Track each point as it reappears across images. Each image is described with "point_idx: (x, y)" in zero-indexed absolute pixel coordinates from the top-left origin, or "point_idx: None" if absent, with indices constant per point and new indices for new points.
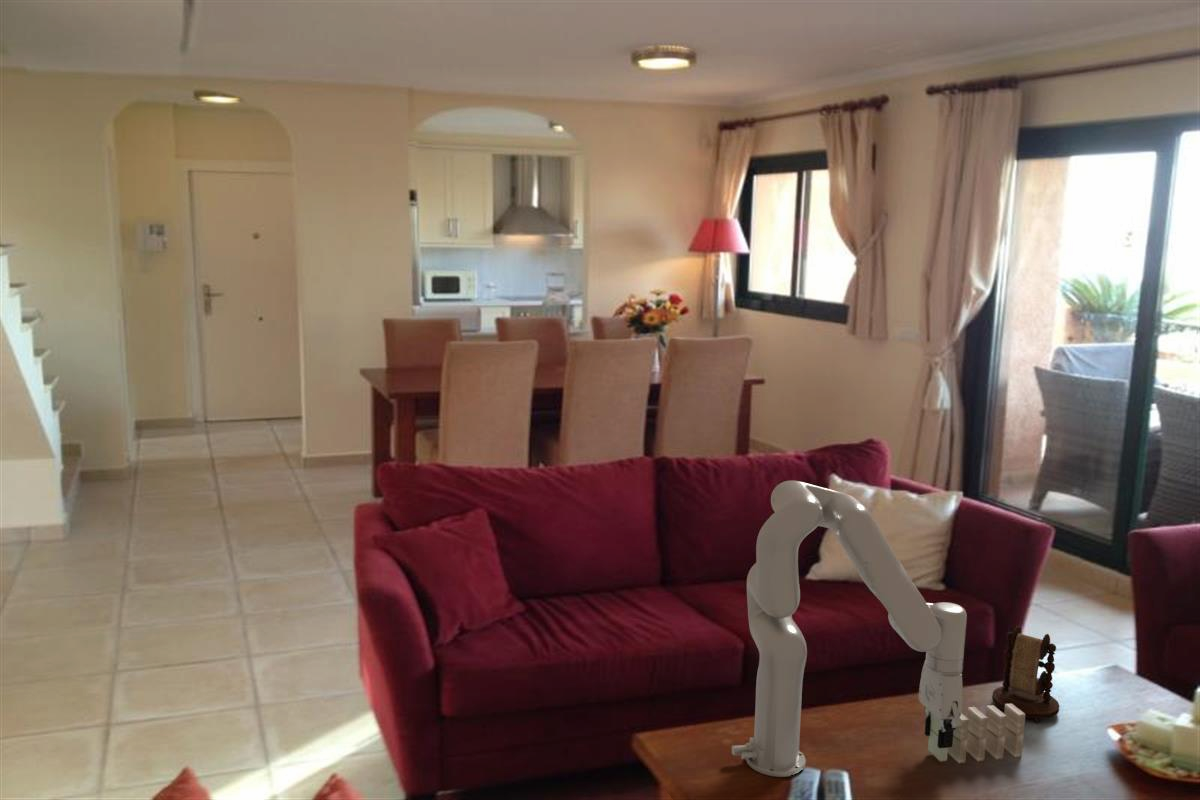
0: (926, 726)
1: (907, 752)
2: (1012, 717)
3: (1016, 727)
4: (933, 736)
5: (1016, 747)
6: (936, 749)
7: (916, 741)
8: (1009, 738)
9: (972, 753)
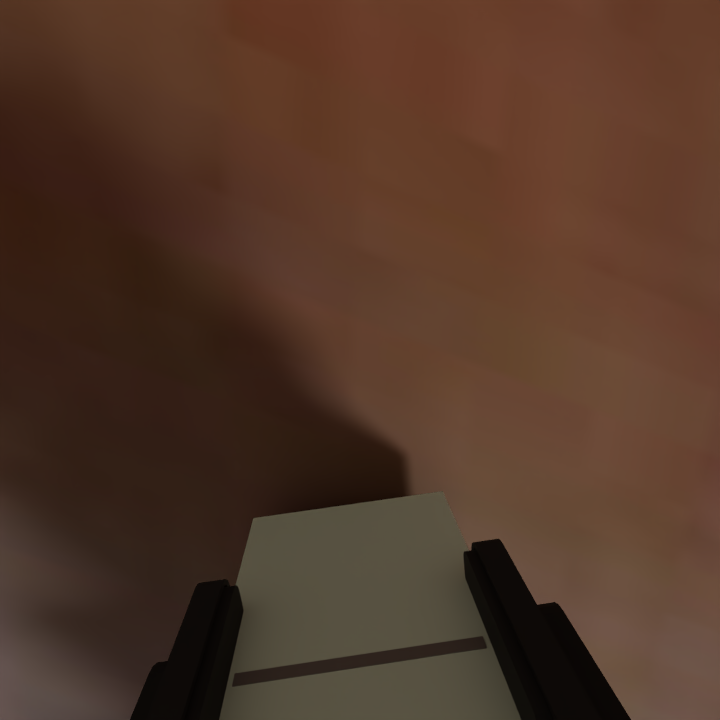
0: (510, 621)
1: (465, 323)
2: None
3: None
4: (395, 610)
5: None
6: (316, 550)
7: (615, 455)
8: None
9: None
